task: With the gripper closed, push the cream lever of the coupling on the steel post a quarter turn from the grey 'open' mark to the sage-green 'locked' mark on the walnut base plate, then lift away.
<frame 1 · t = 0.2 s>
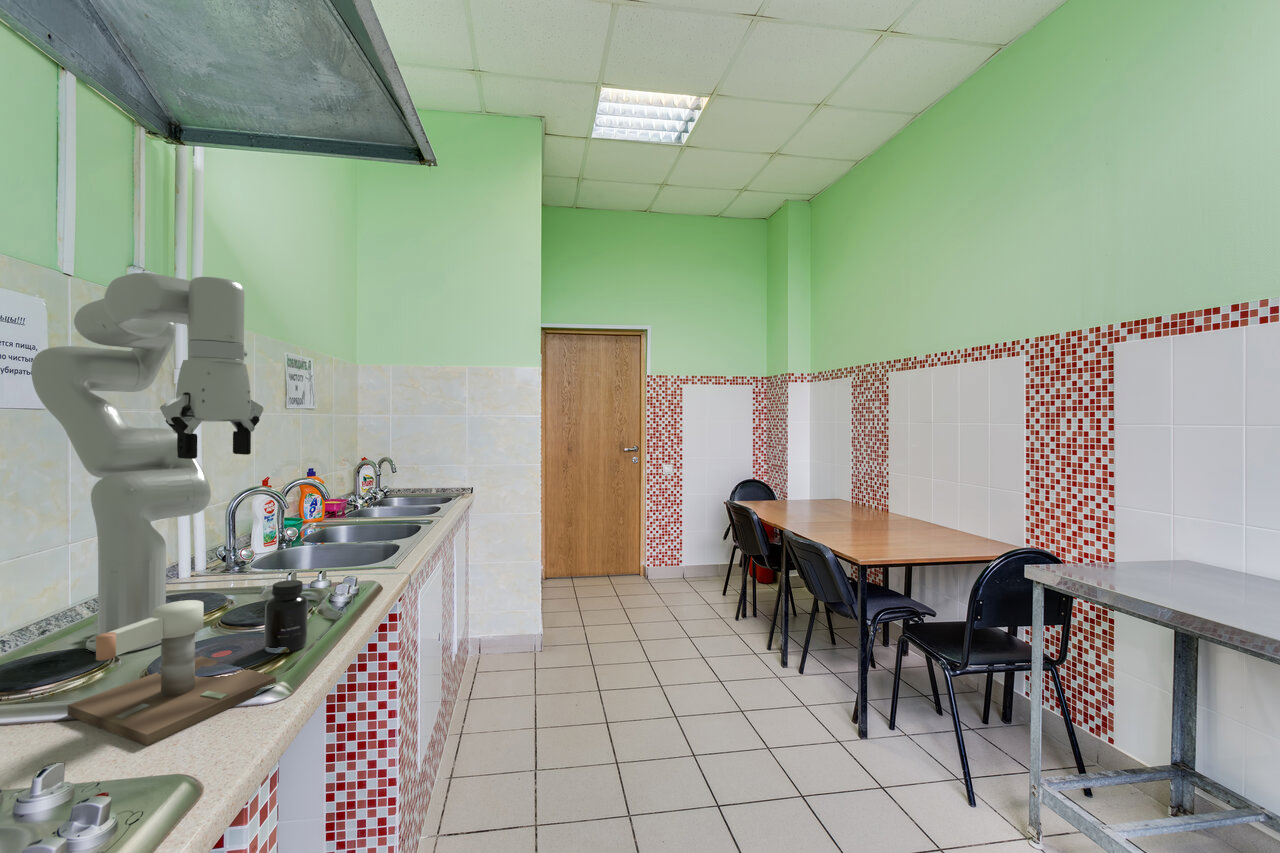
hand: (215, 456, 97), 36 cm above the countertop, tool pointing down, fingers open, 9 cm apart
coupling: (151, 628, 84), point 12 cm above the countertop, hinge at 0.0°
supplement bottle: (285, 648, 108), on the countertop
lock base: (177, 699, 88), on the countertop
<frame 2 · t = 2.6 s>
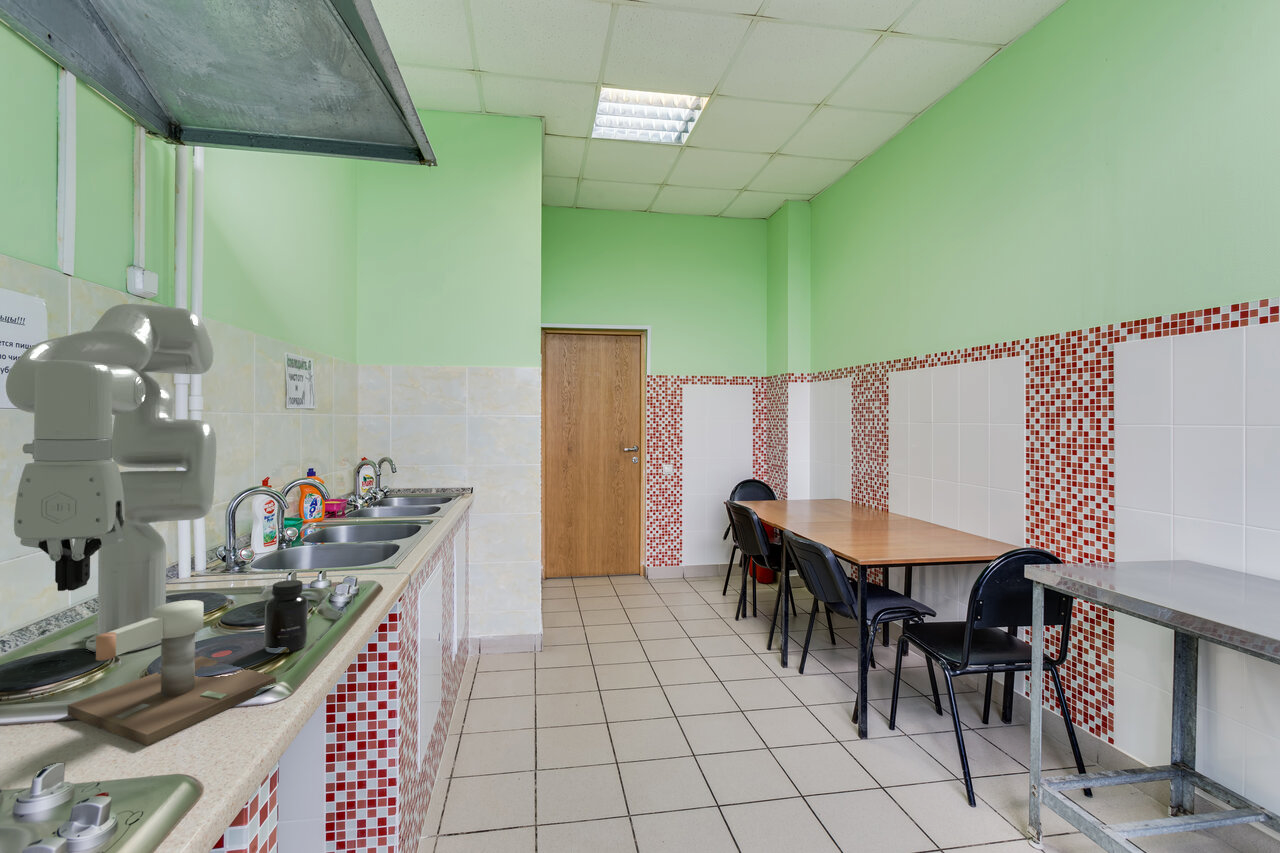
hand: (72, 587, 78), 20 cm above the countertop, tool pointing down, fingers closed
nothing on the countertop moved.
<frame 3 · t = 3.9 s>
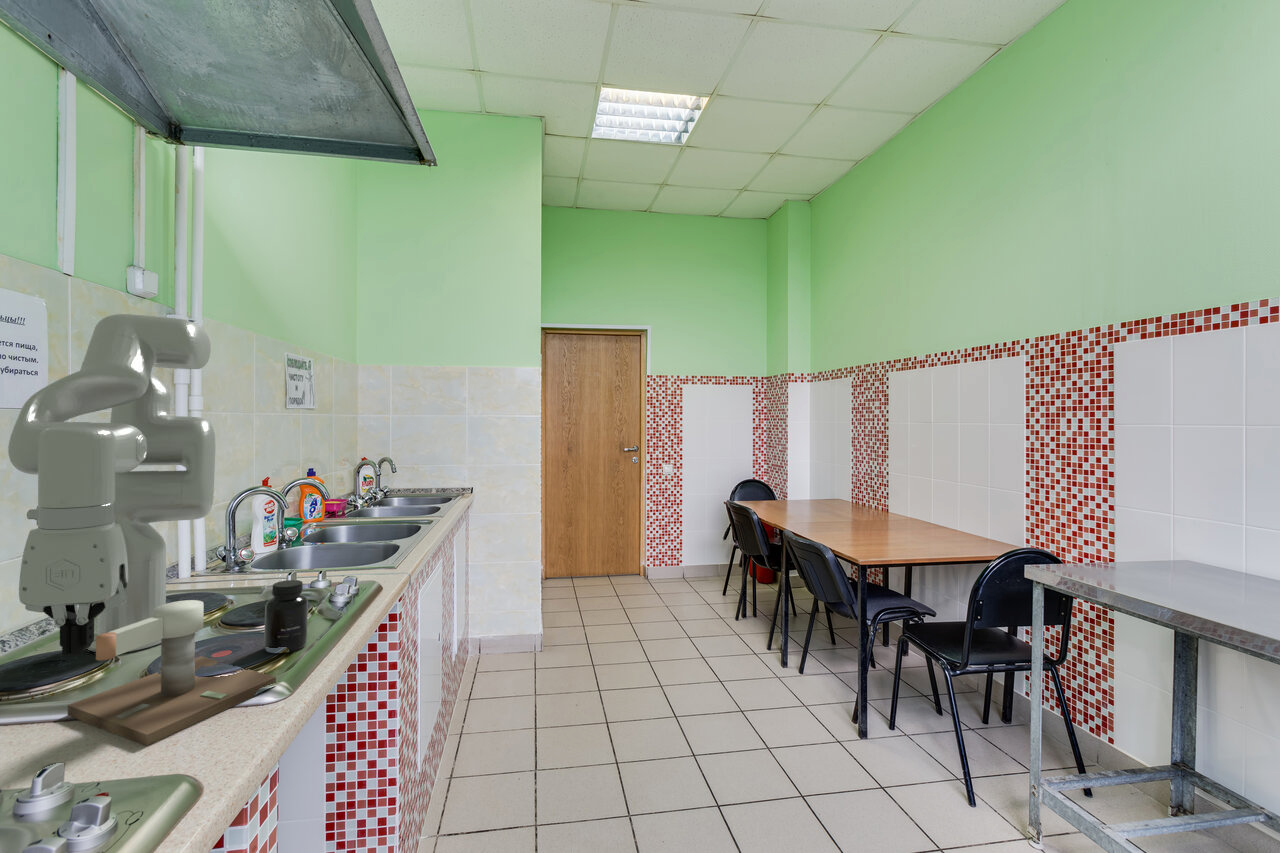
hand: (77, 650, 79), 11 cm above the countertop, tool pointing down, fingers closed
nothing on the countertop moved.
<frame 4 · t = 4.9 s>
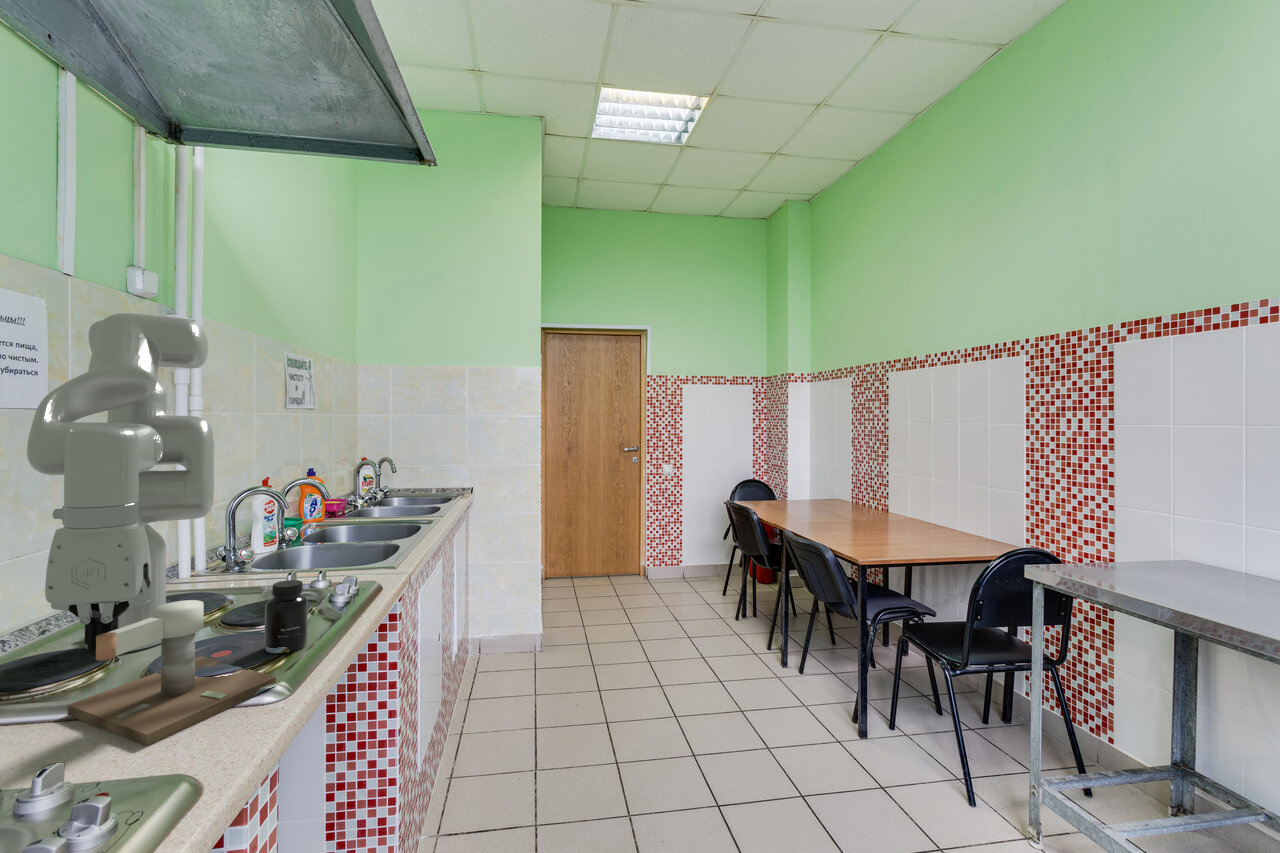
hand: (101, 648, 80), 11 cm above the countertop, tool pointing down, fingers closed
coupling: (151, 628, 84), point 12 cm above the countertop, hinge at 0.0°, touching gripper
everything else where it was.
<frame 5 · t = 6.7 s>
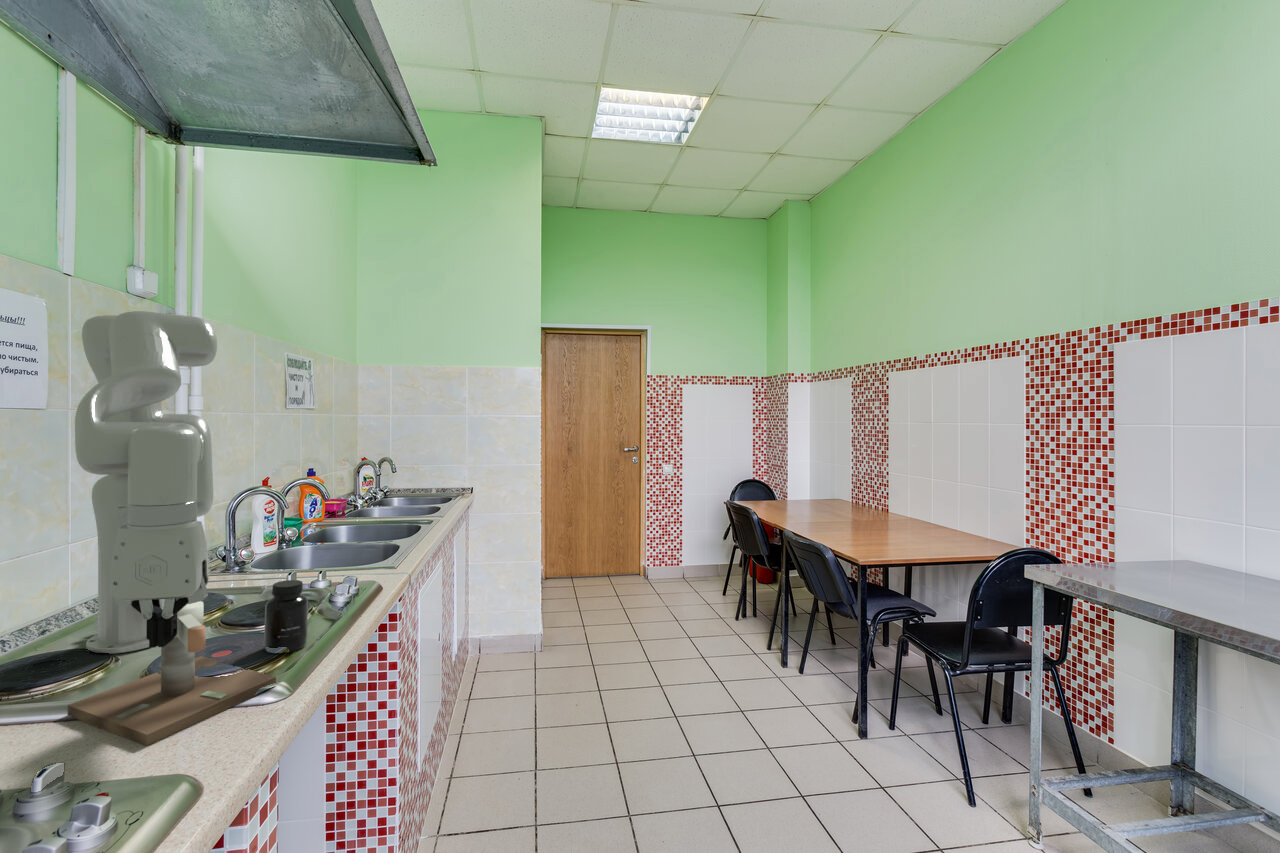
hand: (161, 643, 82), 11 cm above the countertop, tool pointing down, fingers closed
coupling: (185, 625, 85), point 12 cm above the countertop, hinge at 61.0°, touching gripper
everything else where it was.
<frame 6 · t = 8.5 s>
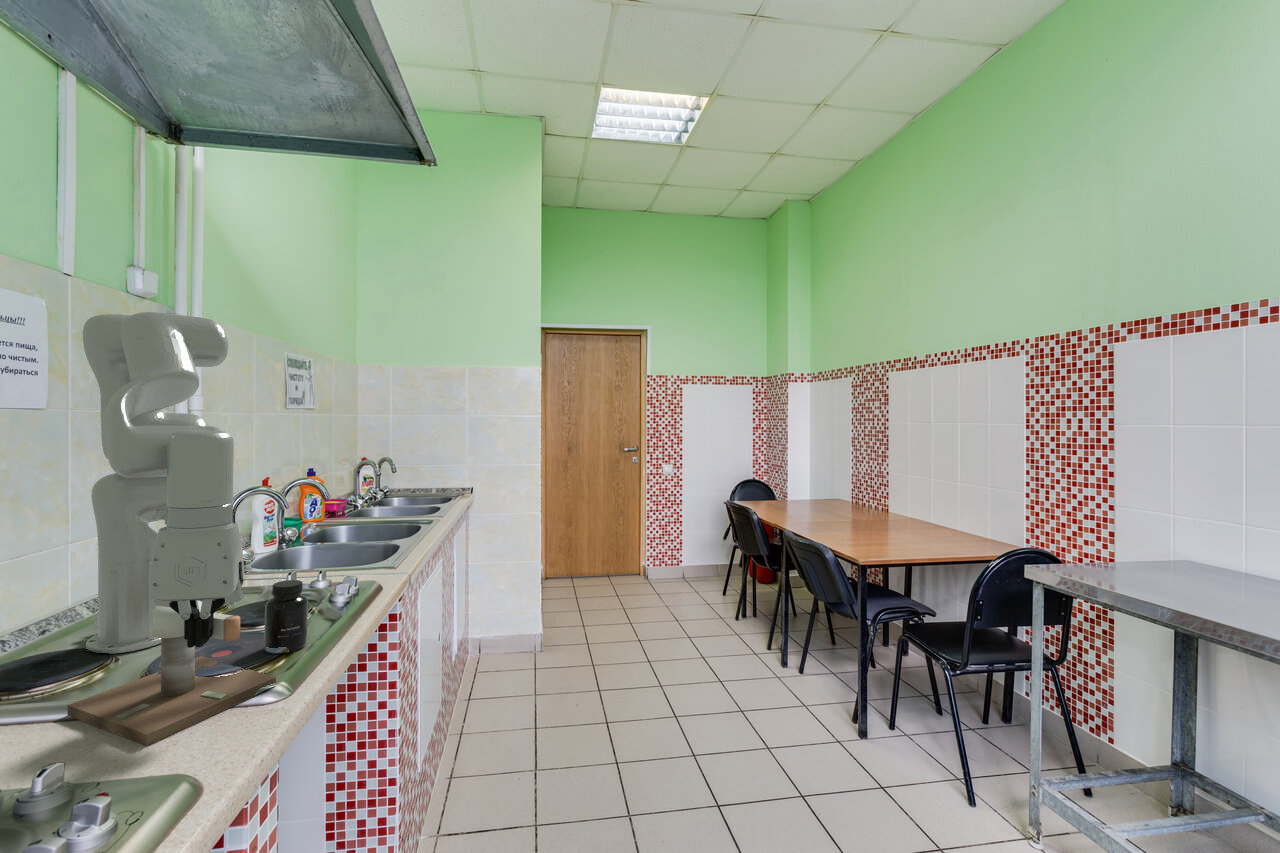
hand: (198, 643, 83), 11 cm above the countertop, tool pointing down, fingers closed
coupling: (199, 621, 87), point 12 cm above the countertop, hinge at 87.3°, touching gripper
everything else where it was.
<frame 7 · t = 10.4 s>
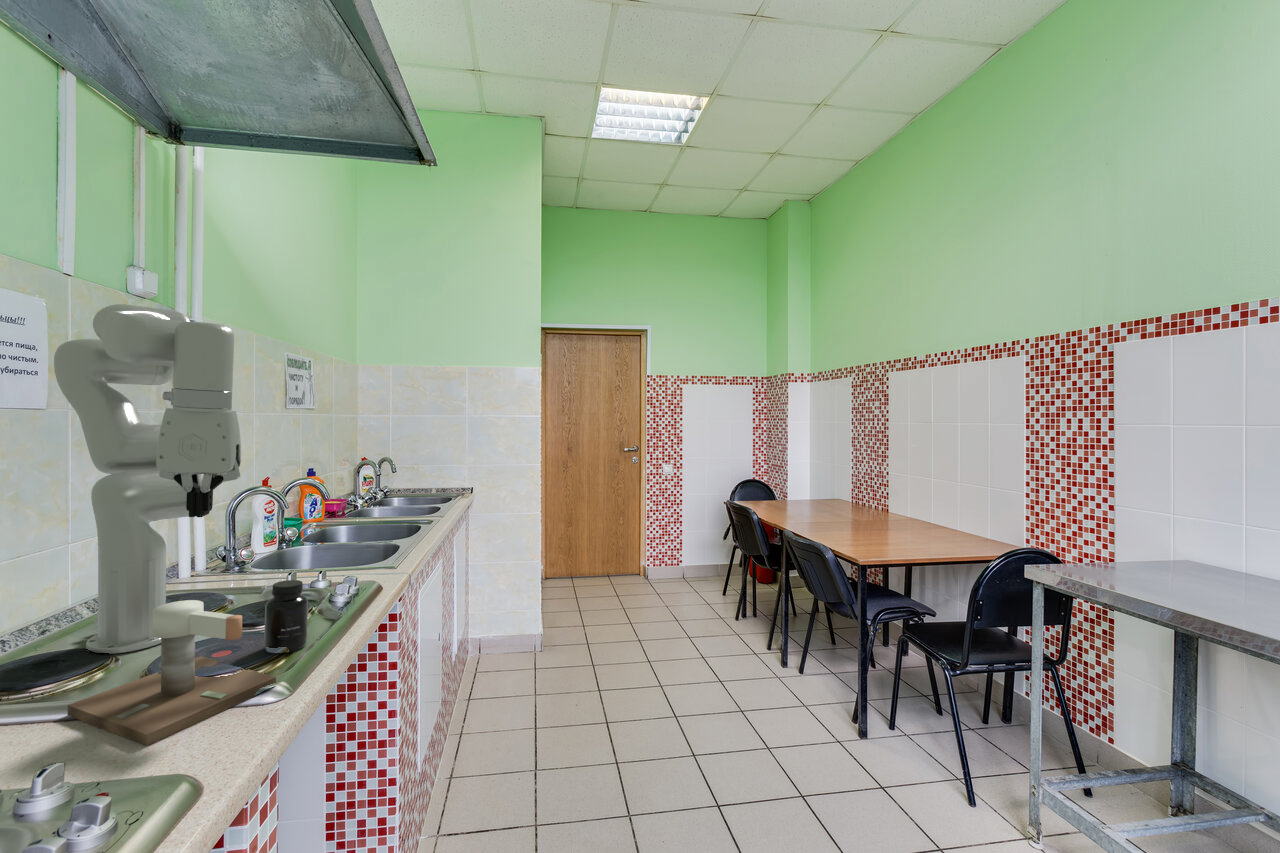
hand: (199, 515, 93), 27 cm above the countertop, tool pointing down, fingers closed
coupling: (200, 621, 87), point 13 cm above the countertop, hinge at 89.2°
everything else where it was.
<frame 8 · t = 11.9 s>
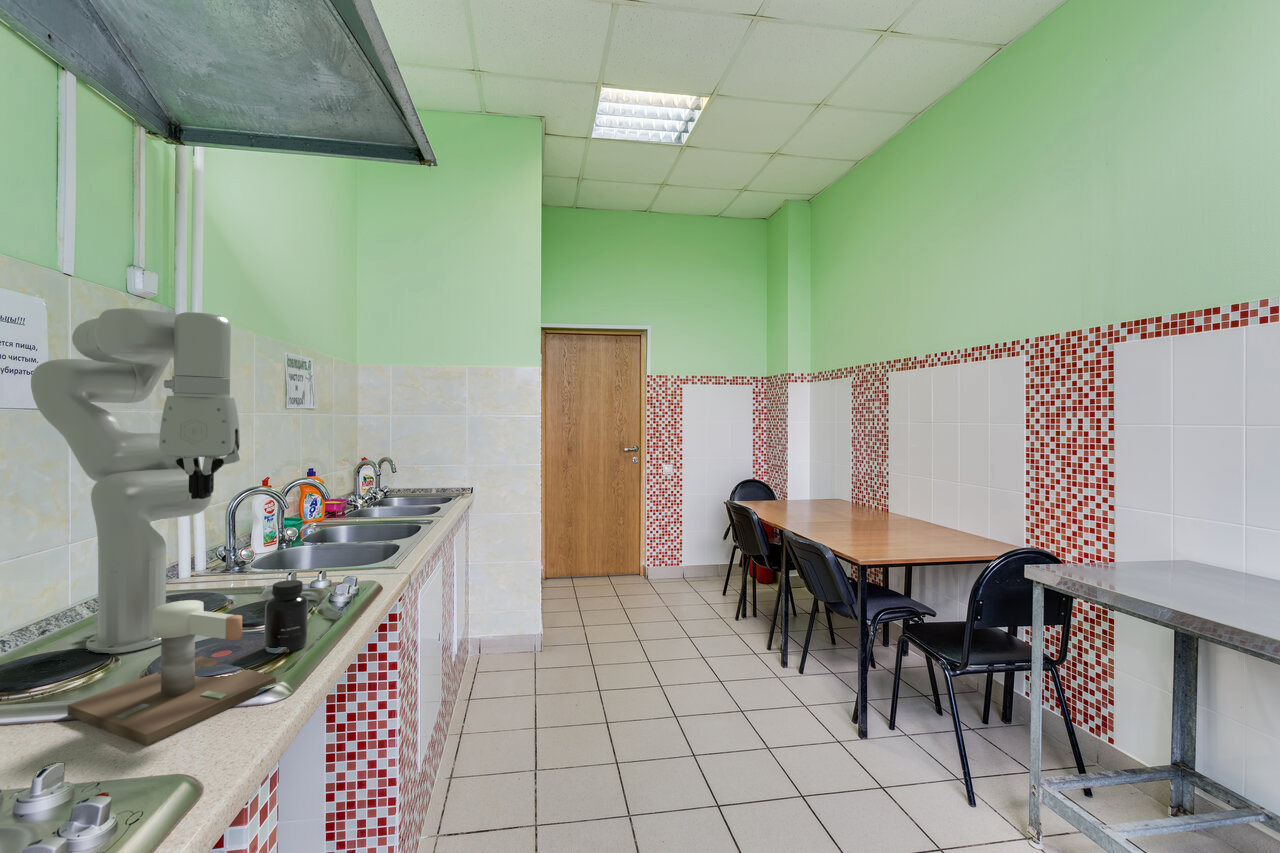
hand: (201, 497, 97), 29 cm above the countertop, tool pointing down, fingers closed
nothing on the countertop moved.
at the end: coupling at +89° (first picture: +0°); supplement bottle moved 0.2 cm from its start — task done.
